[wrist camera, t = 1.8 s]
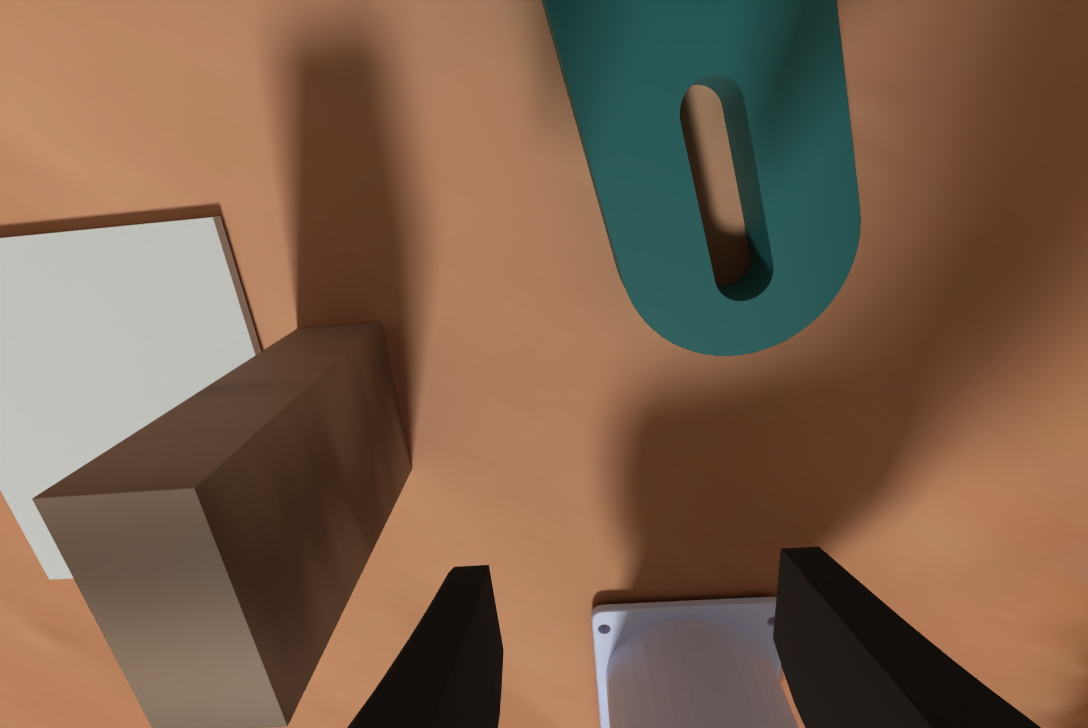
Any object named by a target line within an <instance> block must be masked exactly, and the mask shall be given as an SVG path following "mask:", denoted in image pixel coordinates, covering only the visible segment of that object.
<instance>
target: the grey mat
mask: <svg viewBox="0 0 1088 728" xmlns="http://www.w3.org/2000/svg"><path fill="white" fill-rule="evenodd" d="M260 352H261V348H260V345H259V342H258V338H257V335H256V332H255V329H254V325H253V322H252V319H251V315H250V312H249V309H248V306H247V302H246V299H245V296H244V292H243V289H242V286H241V283H240V279H239V276H238V273H237V269H236V266H235V263H234V260H233V256H232V253H231V250H230V246H229V243H228V240H227V237H226V233H225V230H224V227H223V223H222V220H221V217H220V216H216V217H205V218H195V219H185V220H175V221H165V222H155V223H145V224H134V225H124V226H114V227H104V228H94V229H84V230H74V231H63V232H53V233H43V234H33V235H23V236H13V237H3V238H0V490H1V492H2V494H3V496H4V498H5V500H6V501H7V503H8V505H9V507H10V509H11V511H12V512H13V514H14V516H15V518H16V520H17V521H18V523H19V525H20V527H21V529H22V531H23V532H24V534H25V536H26V538H27V540H28V542H29V543H30V545H31V547H32V549H33V551H34V553H35V554H36V556H37V558H38V560H39V562H40V564H41V565H42V567H43V569H44V571H45V573H46V574H47V576H48V578H49V580H51V579H70V578H73V576H72V574H71V572H70V570H69V568H68V567H67V565H66V563H65V561H64V559H63V557H62V555H61V553H60V551H59V549H58V547H57V546H56V544H55V542H54V540H53V538H52V536H51V534H50V532H49V530H48V528H47V527H46V525H45V523H44V521H43V519H42V517H41V515H40V513H39V511H38V509H37V507H36V506H35V504H34V502H33V500H32V498H34V497H35V496H37V495H38V494H40V493H42V492H43V491H45V490H46V489H48V488H49V487H51V486H52V485H54V484H56V483H57V482H59V481H60V480H62V479H63V478H65V477H67V476H68V475H70V474H71V473H73V472H74V471H76V470H77V469H79V468H81V467H82V466H84V465H85V464H87V463H88V462H90V461H92V460H93V459H95V458H96V457H98V456H99V455H101V454H102V453H104V452H106V451H107V450H109V449H110V448H112V447H113V446H115V445H116V444H118V443H120V442H121V441H123V440H124V439H126V438H127V437H129V436H131V435H132V434H134V433H135V432H137V431H138V430H140V429H141V428H143V427H145V426H146V425H148V424H149V423H151V422H152V421H154V420H156V419H157V418H159V417H160V416H162V415H163V414H165V413H166V412H168V411H170V410H171V409H173V408H174V407H176V406H177V405H179V404H181V403H182V402H184V401H185V400H187V399H188V398H190V397H191V396H193V395H195V394H196V393H198V392H199V391H201V390H202V389H204V388H205V387H207V386H209V385H210V384H212V383H213V382H215V381H216V380H218V379H220V378H221V377H223V376H224V375H226V374H227V373H229V372H230V371H232V370H234V369H235V368H237V367H238V366H240V365H241V364H243V363H245V362H246V361H248V360H249V359H251V358H252V357H254V356H255V355H257V354H259V353H260Z"/></svg>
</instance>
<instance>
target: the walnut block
mask: <svg viewBox="0 0 1088 728" xmlns="http://www.w3.org/2000/svg"><path fill="white" fill-rule="evenodd" d="M411 470H412V468H411V463H410V459H409V454H408V449H407V445H406V440H405V435H404V431H403V426H402V421H401V416H400V412H399V407H398V402H397V398H396V393H395V388H394V384H393V379H392V374H391V370H390V365H389V360H388V356H387V351H386V346H385V342H384V337H383V332H382V328H381V323H380V322H372V323H360V324H348V325H336V326H324V327H312V328H300V329H296V330H294V331H293V332H291V333H290V334H288V335H287V336H285V337H284V338H282V339H280V340H279V341H277V342H276V343H274V344H273V345H271V346H269V347H268V348H266V349H265V350H263V351H262V352H260V353H259V354H257V355H255V356H254V357H252V358H251V359H249V360H248V361H246V362H245V363H243V364H241V365H240V366H238V367H237V368H235V369H234V370H232V371H230V372H229V373H227V374H226V375H224V376H223V377H221V378H220V379H218V380H216V381H215V382H213V383H212V384H210V385H209V386H207V387H205V388H204V389H202V390H201V391H199V392H198V393H196V394H195V395H193V396H191V397H190V398H188V399H187V400H185V401H184V402H182V403H181V404H179V405H177V406H176V407H174V408H173V409H171V410H170V411H168V412H166V413H165V414H163V415H162V416H160V417H159V418H157V419H156V420H154V421H152V422H151V423H149V424H148V425H146V426H145V427H143V428H141V429H140V430H138V431H137V432H135V433H134V434H132V435H131V436H129V437H127V438H126V439H124V440H123V441H121V442H120V443H118V444H116V445H115V446H113V447H112V448H110V449H109V450H107V451H106V452H104V453H102V454H101V455H99V456H98V457H96V458H95V459H93V460H92V461H90V462H88V463H87V464H85V465H84V466H82V467H81V468H79V469H77V470H76V471H74V472H73V473H71V474H70V475H68V476H67V477H65V478H63V479H62V480H60V481H59V482H57V483H56V484H54V485H52V486H51V487H49V488H48V489H46V490H45V491H43V492H42V493H40V494H38V495H37V496H35V497H34V498H32V500H33V502H34V504H35V506H36V507H37V509H38V511H39V513H40V515H41V517H42V519H43V521H44V523H45V525H46V527H47V528H48V530H49V532H50V534H51V536H52V538H53V540H54V542H55V544H56V546H57V547H58V549H59V551H60V553H61V555H62V557H63V559H64V561H65V563H66V565H67V567H68V568H69V570H70V572H71V574H72V576H73V578H74V580H75V582H76V584H77V586H78V587H79V589H80V591H81V593H82V595H83V597H84V599H85V601H86V603H87V605H88V607H89V608H90V610H91V612H92V614H93V616H94V618H95V620H96V622H97V624H98V626H99V627H100V629H101V631H102V633H103V635H104V637H105V639H106V641H107V643H108V645H109V647H110V648H111V650H112V652H113V654H114V656H115V658H116V660H117V662H118V664H119V666H120V667H121V669H122V671H123V673H124V675H125V677H126V679H127V681H128V683H129V685H130V687H131V688H132V690H133V692H134V694H135V696H136V698H137V700H138V702H139V704H140V706H141V707H142V709H143V711H144V713H145V715H146V717H147V719H148V721H149V723H150V725H151V727H152V728H256V727H286V726H288V724H289V722H290V720H291V718H292V716H293V714H294V712H295V710H296V708H297V706H298V703H299V701H300V699H301V697H302V695H303V693H304V691H305V689H306V687H307V685H308V683H309V681H310V679H311V677H312V675H313V672H314V670H315V668H316V666H317V664H318V662H319V660H320V658H321V656H322V654H323V652H324V650H325V648H326V646H327V644H328V642H329V639H330V637H331V635H332V633H333V631H334V629H335V627H336V625H337V623H338V621H339V619H340V617H341V615H342V613H343V611H344V608H345V606H346V604H347V602H348V600H349V598H350V596H351V594H352V592H353V590H354V588H355V586H356V584H357V582H358V580H359V578H360V575H361V573H362V571H363V569H364V567H365V565H366V563H367V561H368V559H369V557H370V555H371V553H372V551H373V549H374V547H375V544H376V542H377V540H378V538H379V536H380V534H381V532H382V530H383V528H384V526H385V524H386V522H387V520H388V518H389V516H390V514H391V511H392V509H393V507H394V505H395V503H396V501H397V499H398V497H399V495H400V493H401V491H402V489H403V487H404V485H405V483H406V480H407V478H408V476H409V474H410V472H411Z"/></svg>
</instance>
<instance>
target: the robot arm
mask: <svg viewBox="0 0 1088 728" xmlns="http://www.w3.org/2000/svg"><path fill="white" fill-rule="evenodd" d="M591 616H592V629H593V642H594V654H595V666H596V678H597V690H598V702H599V715H600V727H601V728H799V727H798V725H797V722H796V720H795V717H794V715H793V713H792V710H791V708H790V705H789V703H788V701H787V698H786V696H785V693H784V691H783V689H782V686H781V684H780V673H781V665H782V668H783V671H784V674H785V677H786V680H787V683H788V686H789V688H790V691H791V694H792V697H793V700H794V703H795V705H796V708H797V710H798V712H799V714H800V717H801V719H802V721H803V723H804V725H805V728H1041V727H1039V726H1038V725H1037V724H1035V723H1034V722H1033V721H1031V720H1030V719H1029V718H1027V717H1026V716H1025V715H1024V714H1022V713H1021V712H1020V711H1018V710H1017V709H1016V708H1014V707H1013V706H1012V705H1010V704H1009V703H1008V702H1006V701H1005V700H1004V699H1002V698H1001V697H1000V696H998V695H997V694H996V693H994V692H993V691H992V690H990V689H989V688H988V687H986V686H985V685H984V684H983V683H981V682H980V681H979V680H977V679H976V678H975V677H974V676H972V675H971V674H970V673H969V672H967V671H966V670H965V669H964V668H962V667H961V666H960V665H958V664H957V663H956V662H955V661H953V660H952V659H951V658H950V657H948V656H947V655H946V654H945V653H944V652H942V651H941V650H940V649H939V648H937V647H936V646H935V645H934V644H933V643H931V642H930V641H929V640H928V639H926V638H925V637H924V636H923V635H921V634H920V633H919V632H918V631H917V630H915V629H914V628H913V627H912V626H911V625H909V624H908V623H907V622H906V621H905V620H903V619H902V618H901V617H900V616H899V615H898V614H896V613H895V612H894V611H893V610H892V609H891V608H889V607H888V606H887V605H886V604H885V603H884V602H882V601H881V600H880V599H879V598H878V597H876V596H875V595H874V594H873V593H872V592H871V591H869V590H868V589H867V588H866V587H865V586H864V585H863V584H861V583H860V582H859V581H858V580H857V579H856V578H854V577H853V576H852V575H851V574H850V573H849V572H848V571H846V570H845V569H844V568H843V567H842V566H841V565H839V564H838V563H837V562H836V561H835V560H834V559H832V558H831V557H830V556H829V555H828V554H827V553H825V552H824V551H823V550H822V549H821V548H820V547H804V548H786V549H781V555H780V566H779V577H778V587H777V597H755V598H734V599H712V600H691V601H670V602H649V603H627V604H606V605H598V606H596V607H595V608H594V609H593V610H592V613H591ZM771 617H774V618H771ZM769 618H771V619H769ZM601 625H607V626H601ZM502 667H503V645H502V639H501V634H500V628H499V622H498V616H497V610H496V605H495V599H494V593H493V587H492V581H491V576H490V570H489V565H481V566H463V567H454V568H453V569H452V570H451V571H450V572H449V573H448V575H447V577H446V578H445V580H444V582H443V584H442V585H441V587H440V589H439V590H438V592H437V594H436V596H435V597H434V599H433V601H432V602H431V604H430V606H429V607H428V609H427V611H426V612H425V614H424V616H423V617H422V619H421V620H420V622H419V624H418V625H417V627H416V628H415V630H414V632H413V633H412V635H411V636H410V638H409V640H408V641H407V643H406V644H405V646H404V647H403V649H402V650H401V652H400V653H399V655H398V656H397V658H396V659H395V661H394V662H393V664H392V665H391V667H390V668H389V670H388V671H387V673H386V674H385V676H384V677H383V679H382V680H381V682H380V683H379V685H378V686H377V688H376V689H375V690H374V692H373V693H372V695H371V696H370V697H369V699H368V700H367V701H366V703H365V704H364V706H363V707H362V708H361V710H360V711H359V712H358V714H357V715H356V717H355V718H354V719H353V721H352V722H351V723H350V725H349V726H348V728H498V722H499V716H500V701H501V686H502Z"/></svg>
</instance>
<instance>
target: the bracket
mask: <svg viewBox="0 0 1088 728" xmlns="http://www.w3.org/2000/svg"><path fill="white" fill-rule="evenodd" d="M542 3H543V7H544V10H545V14H546V18H547V21H548V25H549V28H550V32H551V35H552V39H553V43H554V46H555V50H556V53H557V57H558V60H559V64H560V67H561V71H562V75H563V78H564V82H565V85H566V89H567V92H568V96H569V100H570V103H571V107H572V110H573V114H574V117H575V121H576V124H577V128H578V132H579V135H580V139H581V142H582V146H583V149H584V153H585V157H586V160H587V164H588V167H589V171H590V174H591V178H592V181H593V185H594V189H595V192H596V196H597V199H598V203H599V206H600V210H601V214H602V217H603V221H604V224H605V228H606V231H607V235H608V239H609V242H610V246H611V249H612V253H613V256H614V260H615V263H616V267H617V270H618V273H619V276H620V279H621V281H622V283H623V285H624V287H625V289H626V291H627V293H628V295H629V298H630V300H631V302H632V304H633V305H634V307H635V308H636V310H637V312H638V313H639V314H640V316H641V317H642V318H643V319H644V321H645V322H646V323H647V324H648V325H649V326H650V327H651V328H652V329H653V330H654V331H656V332H657V333H658V334H659V335H661V336H662V337H663V338H665V339H667V340H668V341H670V342H671V343H673V344H675V345H678V346H680V347H682V348H684V349H687V350H690V351H693V352H697V353H702V354H707V355H715V356H733V355H743V354H748V353H753V352H757V351H760V350H764V349H767V348H769V347H772V346H775V345H777V344H779V343H781V342H783V341H785V340H787V339H789V338H790V337H792V336H794V335H795V334H797V333H799V332H800V331H801V330H803V329H804V328H805V327H807V326H808V325H809V324H810V323H812V322H813V321H814V320H815V319H816V318H817V317H818V316H819V315H820V314H821V313H822V312H823V311H824V310H825V309H826V308H827V307H828V306H829V304H830V303H831V302H832V300H833V299H834V298H835V296H836V295H837V294H838V292H839V290H840V289H841V287H842V286H843V284H844V282H845V280H846V278H847V276H848V274H849V272H850V269H851V267H852V264H853V262H854V259H855V255H856V252H857V248H858V243H859V237H860V225H861V216H860V203H859V194H858V185H857V176H856V167H855V159H854V150H853V141H852V132H851V123H850V115H849V106H848V97H847V88H846V79H845V71H844V62H843V53H842V44H841V36H840V27H839V18H838V9H837V0H542ZM691 85H704V86H707V87H709V88H711V89H712V90H713V91H714V92H715V93H716V94H717V95H718V97H719V98H720V100H721V103H722V107H723V112H724V118H725V123H726V128H727V133H728V139H729V144H730V149H731V155H732V160H733V165H734V170H735V176H736V181H737V186H738V191H739V197H740V202H741V207H742V212H743V218H744V223H745V228H746V234H747V239H748V244H749V249H750V264H749V267H748V269H747V271H746V272H745V274H744V275H743V276H742V277H741V278H740V279H739V280H738V281H736V282H734V283H732V284H729V285H725V286H718V285H716V283H715V279H714V274H713V270H712V265H711V260H710V256H709V251H708V247H707V242H706V237H705V233H704V228H703V224H702V219H701V214H700V210H699V205H698V200H697V196H696V191H695V187H694V182H693V177H692V173H691V168H690V164H689V159H688V154H687V150H686V145H685V141H684V136H683V131H682V127H681V122H680V106H681V102H682V99H683V97H684V95H685V93H686V92H687V90H688V89H689V88H690V86H691Z"/></svg>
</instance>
